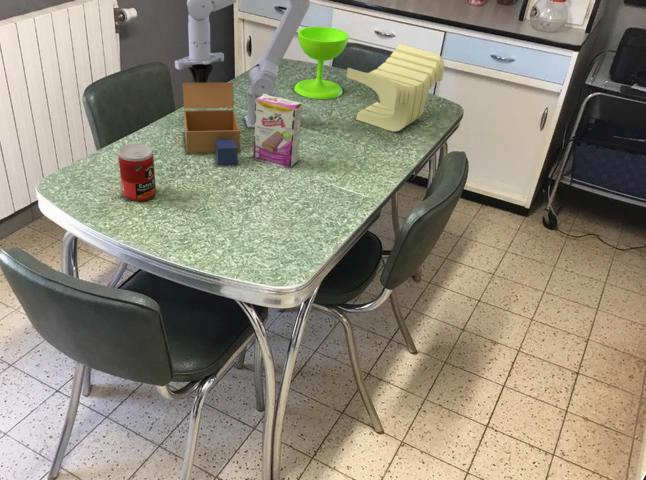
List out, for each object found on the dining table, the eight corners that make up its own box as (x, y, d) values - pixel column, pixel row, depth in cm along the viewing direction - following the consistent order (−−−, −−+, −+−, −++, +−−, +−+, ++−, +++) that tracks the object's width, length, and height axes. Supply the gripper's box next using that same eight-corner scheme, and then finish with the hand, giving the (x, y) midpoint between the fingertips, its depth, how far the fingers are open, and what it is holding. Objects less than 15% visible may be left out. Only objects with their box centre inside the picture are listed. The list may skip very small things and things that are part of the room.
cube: (235, 157, 169) (235, 139, 166) (237, 165, 165) (237, 148, 162) (216, 157, 168) (215, 139, 165) (217, 166, 164) (217, 148, 161)
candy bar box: (252, 158, 168) (254, 98, 159) (260, 151, 172) (263, 92, 162) (290, 169, 165) (295, 108, 155) (298, 161, 169) (303, 101, 159)
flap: (184, 108, 175) (183, 108, 175) (233, 107, 177) (233, 107, 177) (182, 82, 174) (182, 83, 174) (232, 82, 176) (232, 82, 177)
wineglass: (348, 98, 206) (355, 41, 195) (300, 100, 203) (304, 42, 192) (335, 80, 218) (340, 26, 208) (289, 81, 215) (292, 26, 204)
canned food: (140, 205, 147) (137, 162, 140) (115, 194, 150) (110, 151, 143) (163, 192, 152) (160, 149, 145) (137, 182, 155) (133, 140, 149)
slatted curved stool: (388, 144, 180) (398, 82, 169) (340, 127, 187) (347, 67, 177) (434, 113, 200) (446, 56, 189) (390, 99, 207) (399, 43, 196)
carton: (184, 132, 179) (183, 110, 175) (233, 131, 181) (234, 109, 178) (187, 154, 168) (186, 131, 164) (239, 153, 171) (239, 130, 167)
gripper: (183, 49, 164) (185, 100, 173) (230, 41, 172) (230, 90, 180) (169, 41, 169) (172, 91, 177) (215, 33, 176) (216, 82, 184)
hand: (200, 90), depth 179 cm, fingers closed
